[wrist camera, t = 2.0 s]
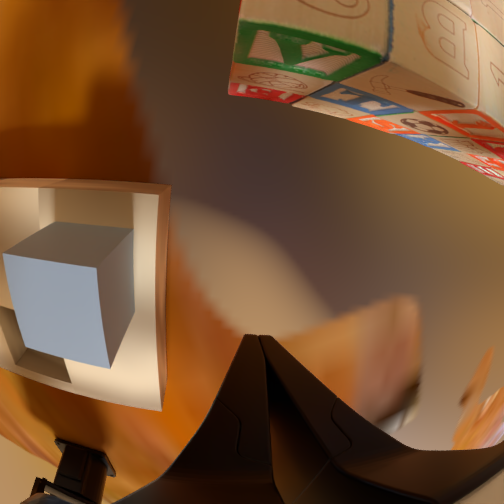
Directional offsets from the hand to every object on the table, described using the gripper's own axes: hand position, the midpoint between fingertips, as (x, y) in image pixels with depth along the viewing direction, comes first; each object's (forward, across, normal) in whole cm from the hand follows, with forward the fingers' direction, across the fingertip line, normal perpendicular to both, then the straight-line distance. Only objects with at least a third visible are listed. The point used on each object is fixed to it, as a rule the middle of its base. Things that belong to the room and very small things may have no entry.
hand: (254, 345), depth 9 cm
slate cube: (+4, +7, 0) cm, 8 cm away
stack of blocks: (+7, -9, -11) cm, 16 cm away
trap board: (+7, +19, +3) cm, 20 cm away
